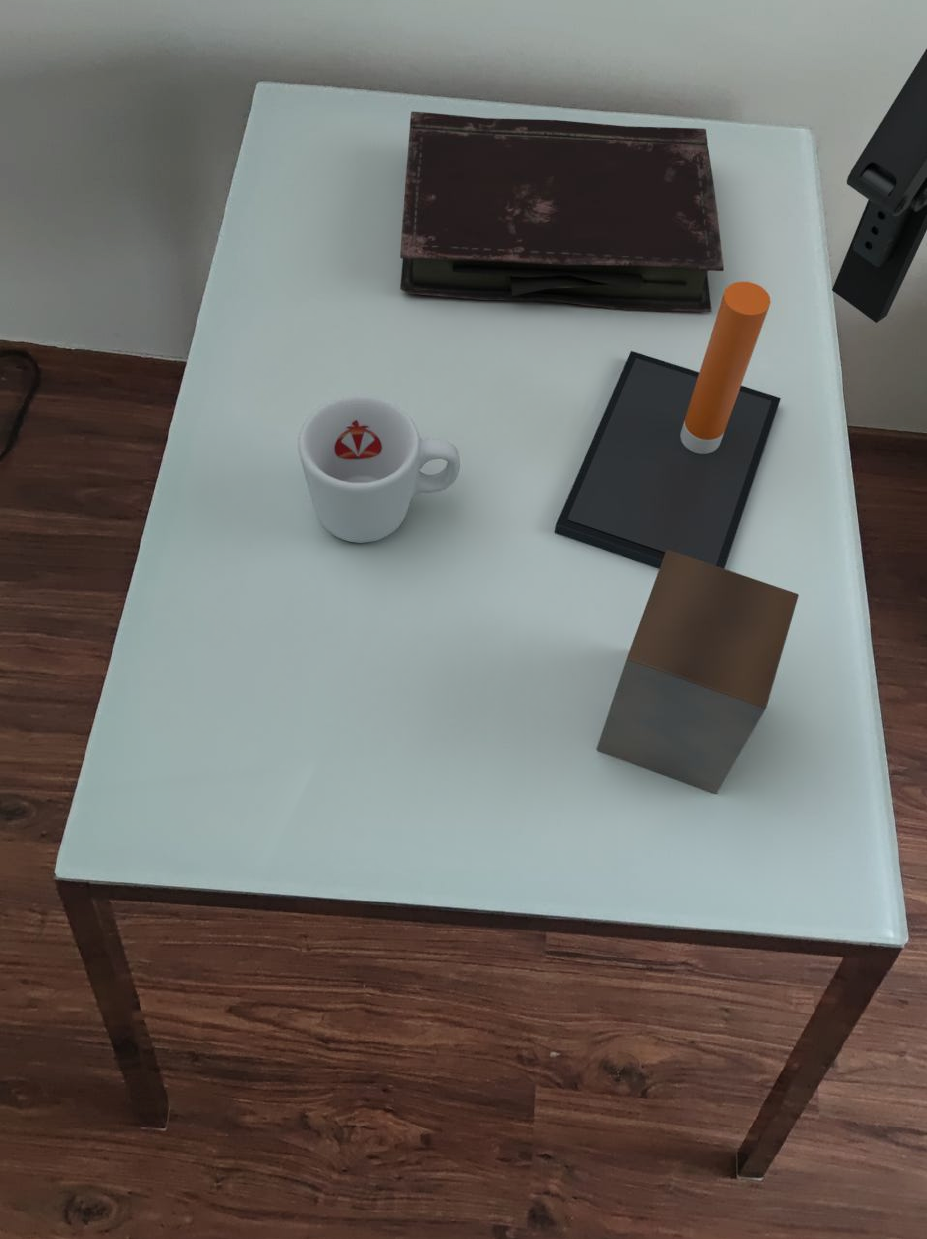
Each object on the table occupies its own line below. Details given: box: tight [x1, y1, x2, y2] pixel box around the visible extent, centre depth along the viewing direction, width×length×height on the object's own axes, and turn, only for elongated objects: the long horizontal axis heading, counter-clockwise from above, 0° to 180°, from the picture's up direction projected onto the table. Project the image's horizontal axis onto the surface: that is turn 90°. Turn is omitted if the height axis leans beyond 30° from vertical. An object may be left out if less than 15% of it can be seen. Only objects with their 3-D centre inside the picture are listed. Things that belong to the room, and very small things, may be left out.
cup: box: [297, 394, 461, 544], centre depth 83 cm, size 11×8×8 cm
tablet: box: [554, 350, 781, 570], centre depth 89 cm, size 12×18×1 cm, turn 159°
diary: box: [399, 111, 725, 313], centre depth 100 cm, size 19×25×5 cm
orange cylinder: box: [680, 281, 771, 454], centre depth 84 cm, size 3×3×14 cm
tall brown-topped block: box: [596, 550, 800, 795], centre depth 74 cm, size 8×8×12 cm
